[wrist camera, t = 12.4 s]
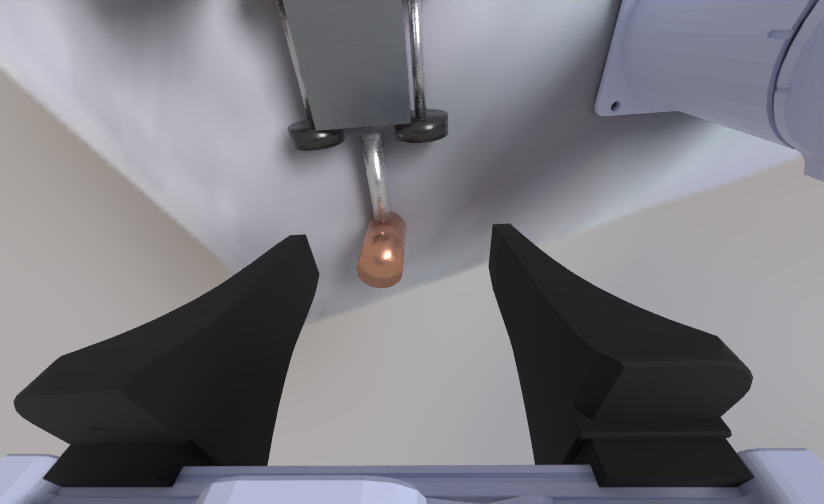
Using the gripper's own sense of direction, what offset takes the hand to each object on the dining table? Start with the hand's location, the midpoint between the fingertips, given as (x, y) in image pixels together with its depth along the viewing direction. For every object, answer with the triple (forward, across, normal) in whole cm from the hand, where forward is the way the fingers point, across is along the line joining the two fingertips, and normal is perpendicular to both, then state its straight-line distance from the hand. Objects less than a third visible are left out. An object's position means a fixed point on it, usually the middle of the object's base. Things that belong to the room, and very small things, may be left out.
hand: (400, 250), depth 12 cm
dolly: (+10, +2, -6) cm, 12 cm away
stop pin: (+10, +2, +2) cm, 10 cm away
